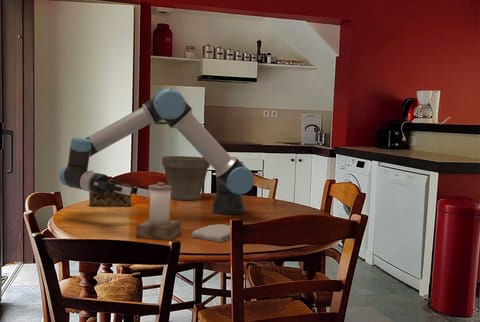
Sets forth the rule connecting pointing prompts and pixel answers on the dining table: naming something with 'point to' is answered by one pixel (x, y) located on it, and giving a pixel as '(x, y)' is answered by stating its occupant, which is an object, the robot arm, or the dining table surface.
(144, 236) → the base block
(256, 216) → the dining table surface
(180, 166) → the plant pot
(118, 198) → the bread
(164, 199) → the canister
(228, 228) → the washcloth
